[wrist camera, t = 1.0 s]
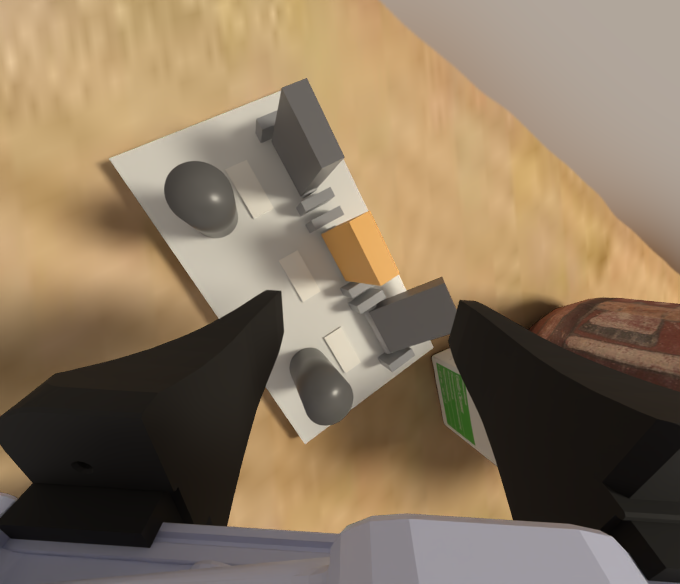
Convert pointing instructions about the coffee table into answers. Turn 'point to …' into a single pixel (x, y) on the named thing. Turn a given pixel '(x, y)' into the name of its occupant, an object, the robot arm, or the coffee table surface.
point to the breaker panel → (269, 255)
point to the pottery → (620, 336)
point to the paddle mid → (361, 251)
